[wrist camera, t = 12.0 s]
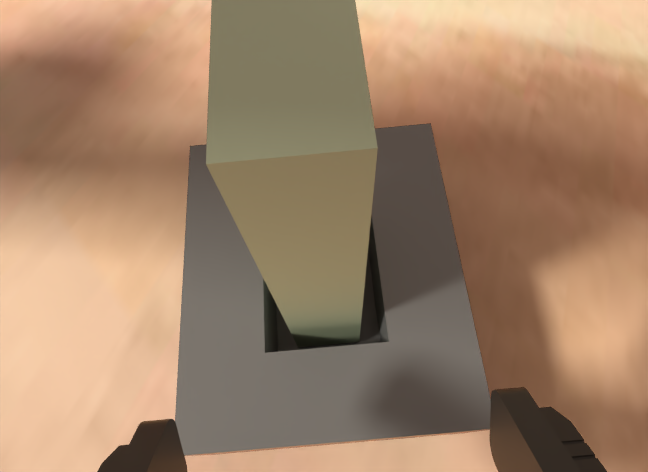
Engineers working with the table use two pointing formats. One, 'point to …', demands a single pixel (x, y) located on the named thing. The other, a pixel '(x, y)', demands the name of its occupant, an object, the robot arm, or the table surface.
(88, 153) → the table surface
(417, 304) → the gray block with hole
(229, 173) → the peg
